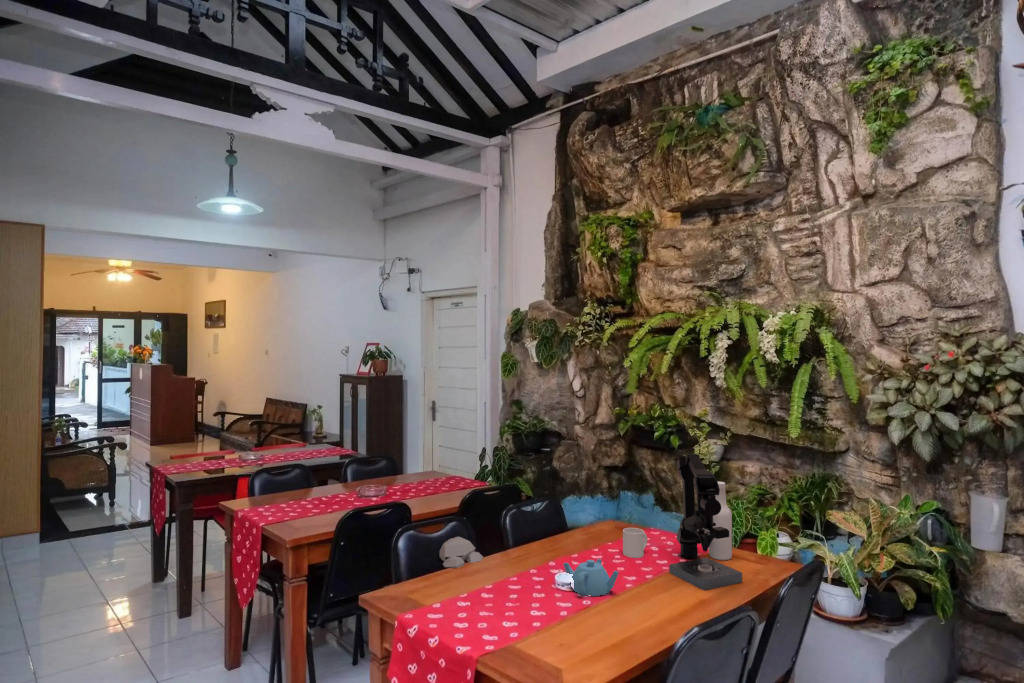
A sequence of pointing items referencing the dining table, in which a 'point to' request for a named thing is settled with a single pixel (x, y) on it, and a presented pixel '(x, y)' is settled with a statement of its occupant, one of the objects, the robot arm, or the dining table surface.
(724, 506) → the alcohol
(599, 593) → the teapot
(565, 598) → the dining table surface
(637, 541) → the mug
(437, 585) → the dining table surface
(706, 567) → the cap
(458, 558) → the rock
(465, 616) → the dining table surface
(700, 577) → the dark grey square base
